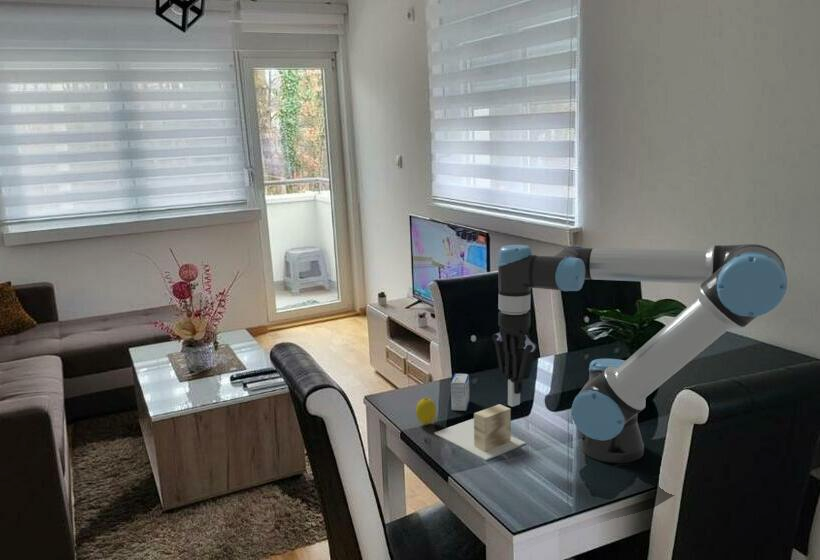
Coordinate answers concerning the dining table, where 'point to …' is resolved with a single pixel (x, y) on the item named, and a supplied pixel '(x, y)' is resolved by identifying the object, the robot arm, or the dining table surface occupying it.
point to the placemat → (465, 439)
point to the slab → (492, 427)
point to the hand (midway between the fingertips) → (513, 404)
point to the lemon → (426, 411)
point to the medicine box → (460, 392)
